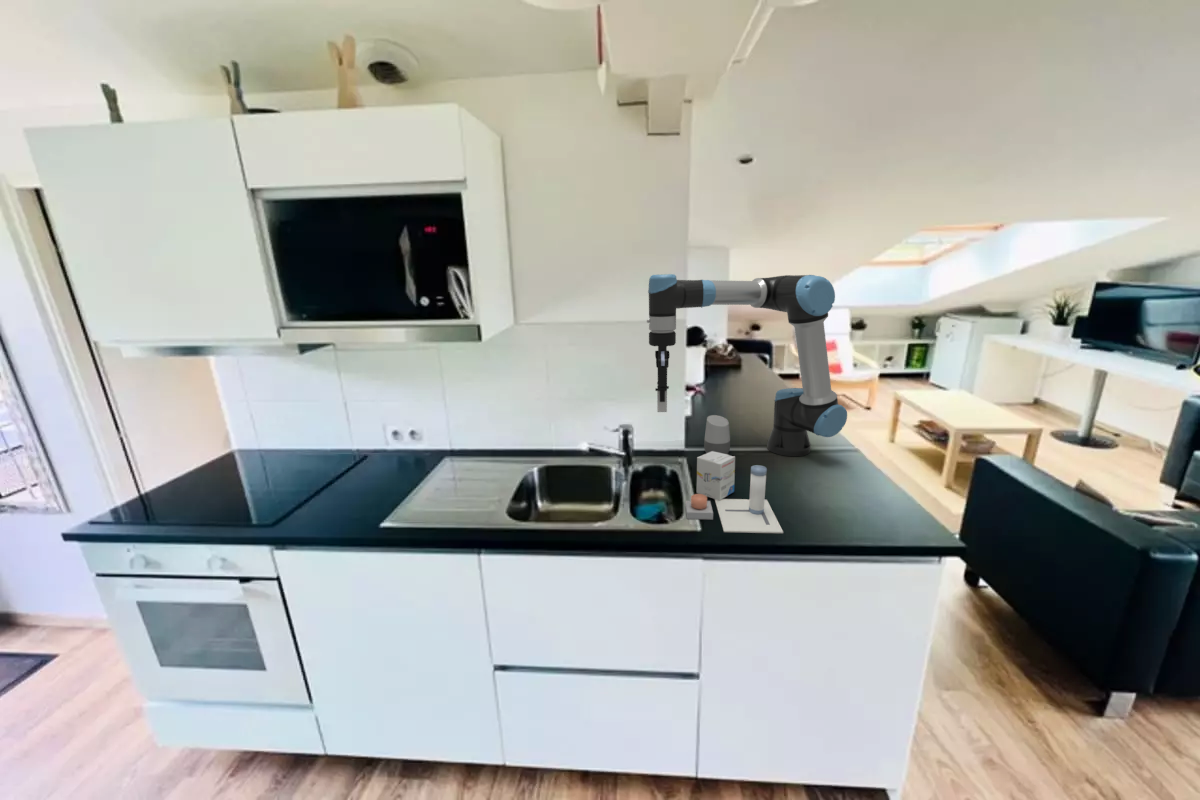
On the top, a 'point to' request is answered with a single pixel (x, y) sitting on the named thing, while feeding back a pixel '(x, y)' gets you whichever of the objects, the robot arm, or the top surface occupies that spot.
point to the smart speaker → (717, 435)
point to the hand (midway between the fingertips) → (662, 411)
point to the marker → (757, 489)
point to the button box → (698, 511)
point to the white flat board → (746, 517)
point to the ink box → (715, 475)
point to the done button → (699, 501)
